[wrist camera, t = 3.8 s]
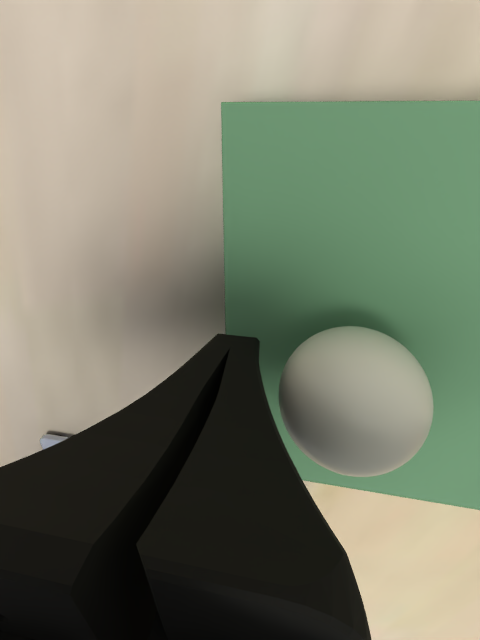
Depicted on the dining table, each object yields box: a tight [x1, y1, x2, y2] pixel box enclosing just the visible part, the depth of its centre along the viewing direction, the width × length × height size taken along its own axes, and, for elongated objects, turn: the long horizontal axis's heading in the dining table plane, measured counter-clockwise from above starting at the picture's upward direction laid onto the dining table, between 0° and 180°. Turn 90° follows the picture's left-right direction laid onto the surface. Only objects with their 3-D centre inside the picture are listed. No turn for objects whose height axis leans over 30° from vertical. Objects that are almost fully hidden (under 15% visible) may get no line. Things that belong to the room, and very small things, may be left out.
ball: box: [278, 326, 434, 477], centre depth 9 cm, size 4×4×4 cm
